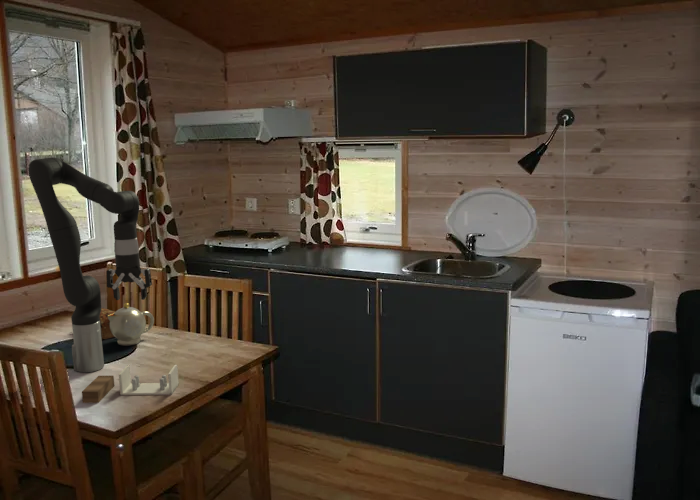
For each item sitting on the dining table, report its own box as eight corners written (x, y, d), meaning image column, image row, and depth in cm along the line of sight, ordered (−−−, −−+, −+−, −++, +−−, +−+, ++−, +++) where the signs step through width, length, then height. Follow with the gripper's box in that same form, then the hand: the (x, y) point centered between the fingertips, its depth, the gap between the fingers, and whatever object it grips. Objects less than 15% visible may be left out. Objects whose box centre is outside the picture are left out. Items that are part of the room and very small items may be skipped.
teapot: (115, 351, 245) (112, 310, 242) (105, 342, 256) (101, 302, 252) (161, 341, 256) (158, 302, 252) (149, 333, 266) (146, 295, 263)
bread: (125, 335, 265) (124, 312, 263) (100, 341, 257) (98, 317, 255) (106, 325, 278) (104, 303, 276) (81, 331, 270) (79, 308, 268)
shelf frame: (120, 395, 205) (118, 374, 203) (128, 385, 212) (127, 365, 211) (172, 394, 205) (170, 373, 203) (178, 384, 212) (177, 364, 211)
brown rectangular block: (98, 403, 199) (97, 391, 198) (83, 403, 199) (81, 391, 199) (114, 386, 212) (113, 375, 211) (99, 386, 212) (98, 375, 211)
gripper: (151, 249, 214) (155, 296, 217) (109, 250, 213) (113, 296, 217) (145, 253, 206) (148, 302, 209) (100, 254, 206) (105, 302, 209)
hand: (130, 299), depth 213 cm, fingers open, 8 cm apart
